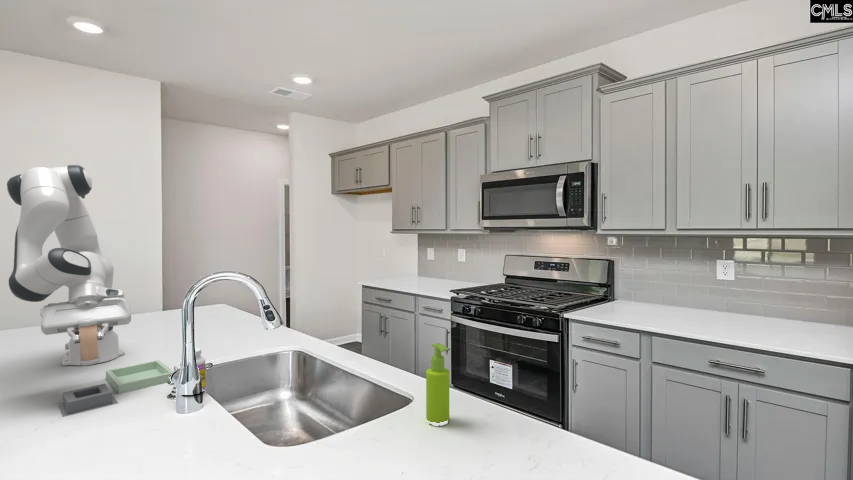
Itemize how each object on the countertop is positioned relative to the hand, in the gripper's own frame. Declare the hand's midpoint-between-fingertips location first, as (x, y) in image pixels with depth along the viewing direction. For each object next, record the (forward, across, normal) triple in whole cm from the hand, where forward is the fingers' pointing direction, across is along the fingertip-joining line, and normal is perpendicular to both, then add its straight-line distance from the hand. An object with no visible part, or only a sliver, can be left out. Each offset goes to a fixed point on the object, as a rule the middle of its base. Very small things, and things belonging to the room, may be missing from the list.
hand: (88, 340), depth 122 cm
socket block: (+13, -1, +14) cm, 19 cm away
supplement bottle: (+17, +24, +10) cm, 31 cm away
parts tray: (+4, +12, +23) cm, 26 cm away
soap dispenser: (+59, +72, -32) cm, 98 cm away
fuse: (+4, 0, +5) cm, 6 cm away
